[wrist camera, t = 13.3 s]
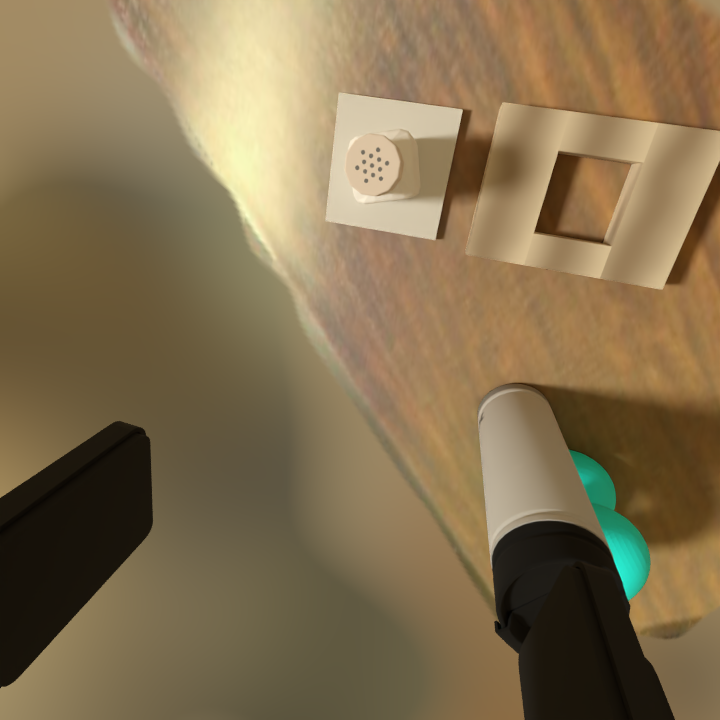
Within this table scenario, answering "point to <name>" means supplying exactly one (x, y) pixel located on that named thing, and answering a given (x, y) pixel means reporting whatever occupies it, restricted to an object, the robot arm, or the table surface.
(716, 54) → the table surface
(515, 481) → the travel mug
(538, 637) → the robot arm
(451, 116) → the beige mat
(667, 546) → the table surface
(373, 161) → the pepper shaker
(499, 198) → the socket block
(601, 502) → the donuts
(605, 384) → the table surface
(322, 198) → the table surface
